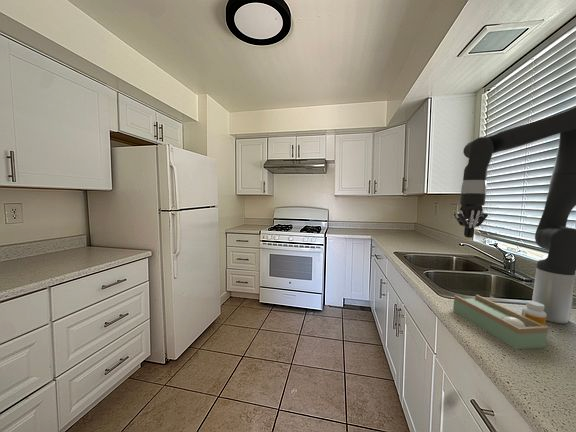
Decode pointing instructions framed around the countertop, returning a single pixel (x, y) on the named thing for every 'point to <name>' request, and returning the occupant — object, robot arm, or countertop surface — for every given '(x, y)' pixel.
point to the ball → (514, 321)
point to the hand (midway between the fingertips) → (468, 237)
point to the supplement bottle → (534, 312)
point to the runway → (501, 322)
